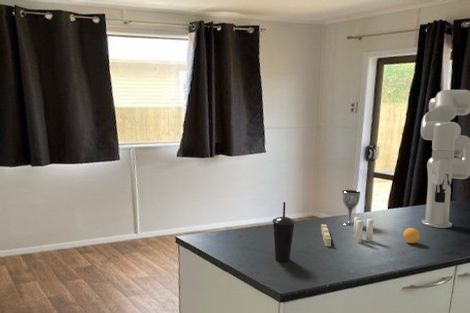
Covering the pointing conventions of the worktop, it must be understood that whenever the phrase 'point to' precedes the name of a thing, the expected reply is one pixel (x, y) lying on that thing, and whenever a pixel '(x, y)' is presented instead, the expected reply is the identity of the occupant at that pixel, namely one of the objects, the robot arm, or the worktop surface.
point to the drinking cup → (283, 236)
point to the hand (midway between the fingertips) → (439, 202)
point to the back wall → (326, 235)
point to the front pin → (369, 230)
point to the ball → (411, 235)
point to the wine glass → (350, 203)
